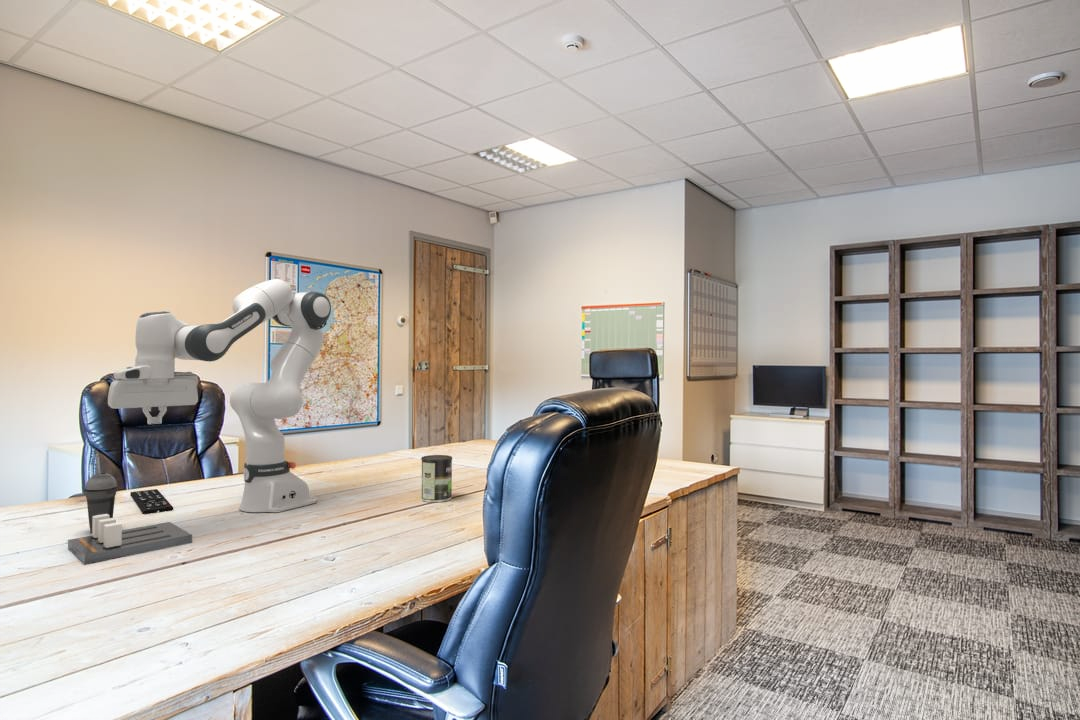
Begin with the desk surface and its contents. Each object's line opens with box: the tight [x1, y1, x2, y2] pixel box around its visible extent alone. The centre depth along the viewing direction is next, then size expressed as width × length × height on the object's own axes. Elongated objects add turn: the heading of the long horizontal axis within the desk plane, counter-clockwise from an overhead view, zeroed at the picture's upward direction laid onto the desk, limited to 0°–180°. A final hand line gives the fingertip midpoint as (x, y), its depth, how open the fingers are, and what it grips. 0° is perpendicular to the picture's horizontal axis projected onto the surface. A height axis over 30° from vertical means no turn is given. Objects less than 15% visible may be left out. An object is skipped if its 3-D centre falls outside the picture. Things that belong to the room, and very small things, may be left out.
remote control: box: [130, 488, 174, 515], centre depth 190 cm, size 8×32×2 cm, turn 40°
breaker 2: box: [98, 517, 117, 543], centre depth 143 cm, size 3×2×5 cm
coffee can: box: [420, 454, 453, 503], centre depth 199 cm, size 10×10×14 cm
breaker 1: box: [91, 514, 110, 538], centre depth 147 cm, size 3×2×5 cm
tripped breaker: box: [104, 521, 123, 548], centre depth 140 cm, size 3×2×5 cm
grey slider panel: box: [67, 521, 193, 565], centre depth 147 cm, size 22×17×2 cm
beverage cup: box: [83, 456, 119, 534], centre depth 158 cm, size 7×7×20 cm
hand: (154, 423), depth 157 cm, fingers closed
